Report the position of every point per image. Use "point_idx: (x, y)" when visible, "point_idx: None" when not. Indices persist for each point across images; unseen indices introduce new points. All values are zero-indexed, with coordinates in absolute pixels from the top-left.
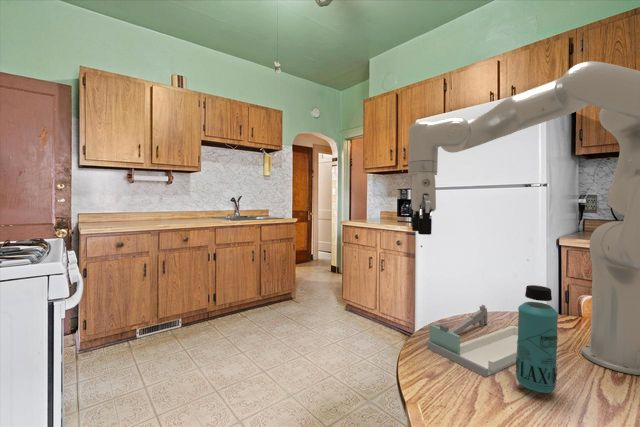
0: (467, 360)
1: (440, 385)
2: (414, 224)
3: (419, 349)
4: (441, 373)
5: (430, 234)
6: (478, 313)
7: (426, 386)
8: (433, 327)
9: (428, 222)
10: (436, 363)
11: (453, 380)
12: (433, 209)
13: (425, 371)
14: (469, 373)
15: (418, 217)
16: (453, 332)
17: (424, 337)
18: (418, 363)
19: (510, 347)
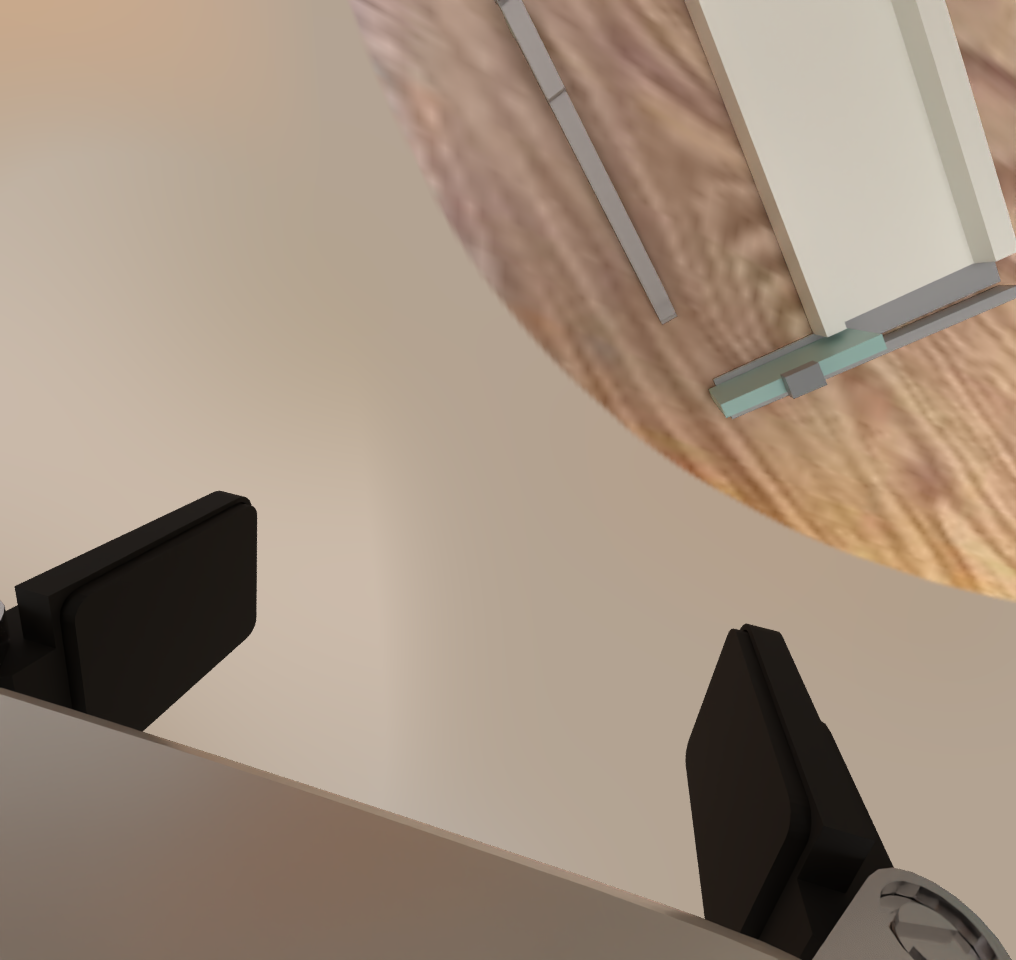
0: (928, 333)
1: (997, 480)
2: (194, 667)
3: (732, 447)
4: (925, 443)
5: (769, 632)
6: (538, 35)
7: (988, 524)
8: (748, 407)
9: (880, 849)
10: (852, 430)
11: (981, 424)
12: (609, 943)
13: (896, 490)
14: (954, 343)
15: (68, 691)
16: (648, 258)
17: (629, 385)
18: (837, 491)
19: (814, 25)
